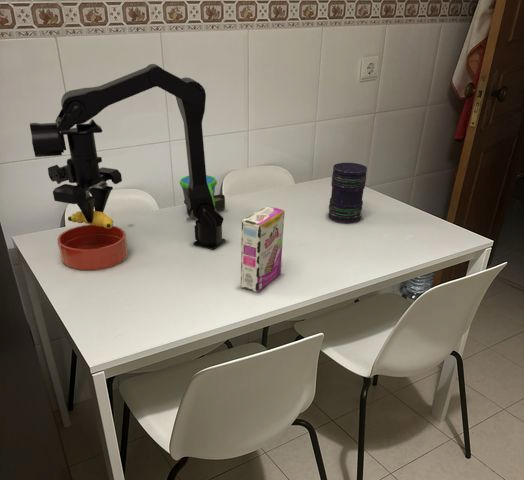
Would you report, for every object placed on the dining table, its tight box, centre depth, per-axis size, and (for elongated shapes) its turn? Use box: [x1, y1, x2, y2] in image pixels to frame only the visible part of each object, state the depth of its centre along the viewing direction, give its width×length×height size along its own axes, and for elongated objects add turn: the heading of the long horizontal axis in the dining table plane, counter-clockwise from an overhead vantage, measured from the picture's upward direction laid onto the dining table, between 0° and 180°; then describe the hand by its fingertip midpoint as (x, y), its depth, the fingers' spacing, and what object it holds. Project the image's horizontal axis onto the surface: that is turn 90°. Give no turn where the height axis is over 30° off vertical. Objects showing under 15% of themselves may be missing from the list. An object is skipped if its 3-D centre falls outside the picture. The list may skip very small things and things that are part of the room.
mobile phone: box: [186, 193, 226, 221], centre depth 157 cm, size 5×3×15 cm
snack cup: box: [179, 174, 218, 208], centre depth 156 cm, size 16×10×10 cm
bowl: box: [57, 224, 129, 272], centre depth 131 cm, size 16×16×6 cm
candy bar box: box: [240, 205, 286, 293], centre depth 119 cm, size 11×5×16 cm, turn 150°
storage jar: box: [328, 162, 368, 225], centre depth 155 cm, size 10×10×15 cm
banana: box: [67, 210, 114, 229], centre depth 126 cm, size 12×4×3 cm, turn 69°
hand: (94, 220), depth 127 cm, fingers closed on banana, 3 cm apart
